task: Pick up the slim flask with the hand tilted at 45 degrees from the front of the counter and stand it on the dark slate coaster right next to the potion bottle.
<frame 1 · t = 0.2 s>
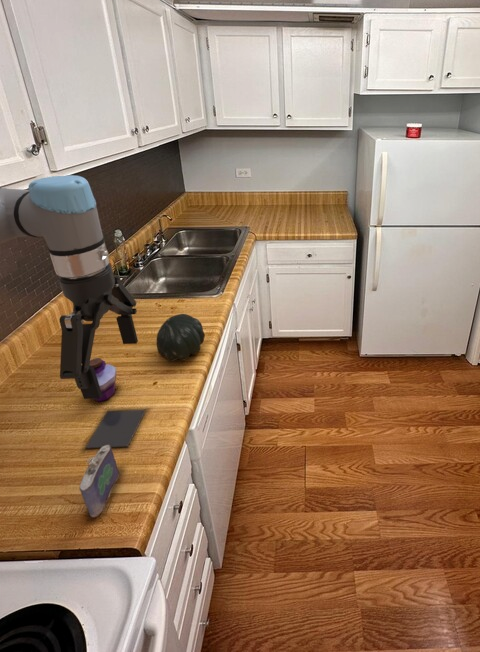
hand: (113, 367, 63), 31 cm above the counter, tool pointing down, fingers open, 13 cm apart
squash: (183, 351, 110), on the counter
slate coaster: (117, 428, 84), on the counter
potion bottle: (105, 394, 94), on the counter
flask: (105, 493, 71), on the counter
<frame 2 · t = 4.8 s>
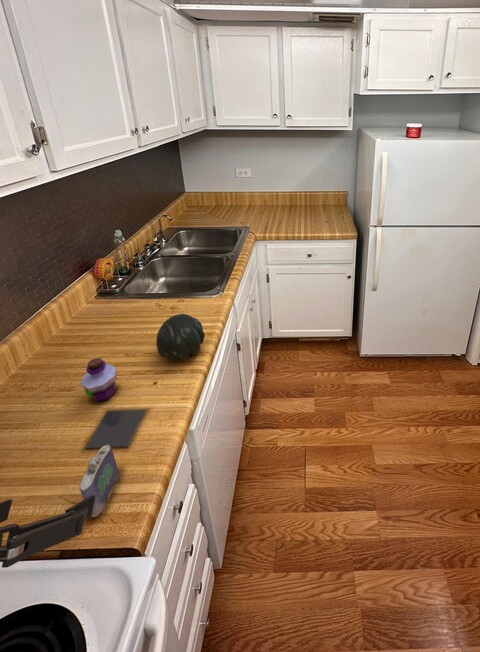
hand: (50, 507, 55), 15 cm above the counter, tool tilted 45°, fingers open, 13 cm apart
nothing on the counter moved.
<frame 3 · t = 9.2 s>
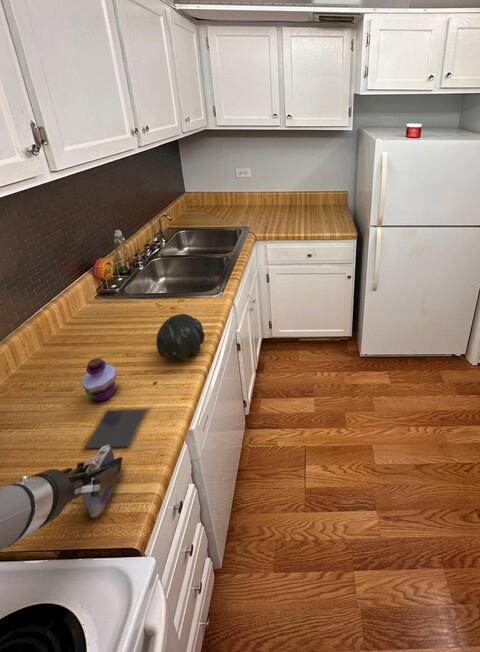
hand: (111, 464, 73), 3 cm above the counter, tool tilted 45°, fingers closed on flask, 3 cm apart
flask: (105, 493, 71), on the counter, touching gripper
everything else where it was.
when the fingers open (3 cm above the counter, at t = 17.3 s): flask stays where it is, resting on slate coaster.
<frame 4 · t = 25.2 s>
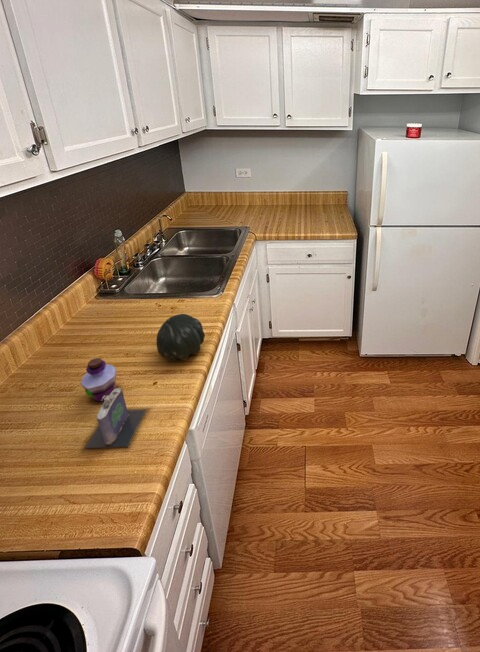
flask: (117, 428, 84), resting on slate coaster
everything else where it was.
at the end: flask 14.3 cm from the potion bottle (horizontally); flask inside the target area on the slate coaster (0.1 cm from its centre), point 0.2 cm above the slate coaster's base; flask tilted 0° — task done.
